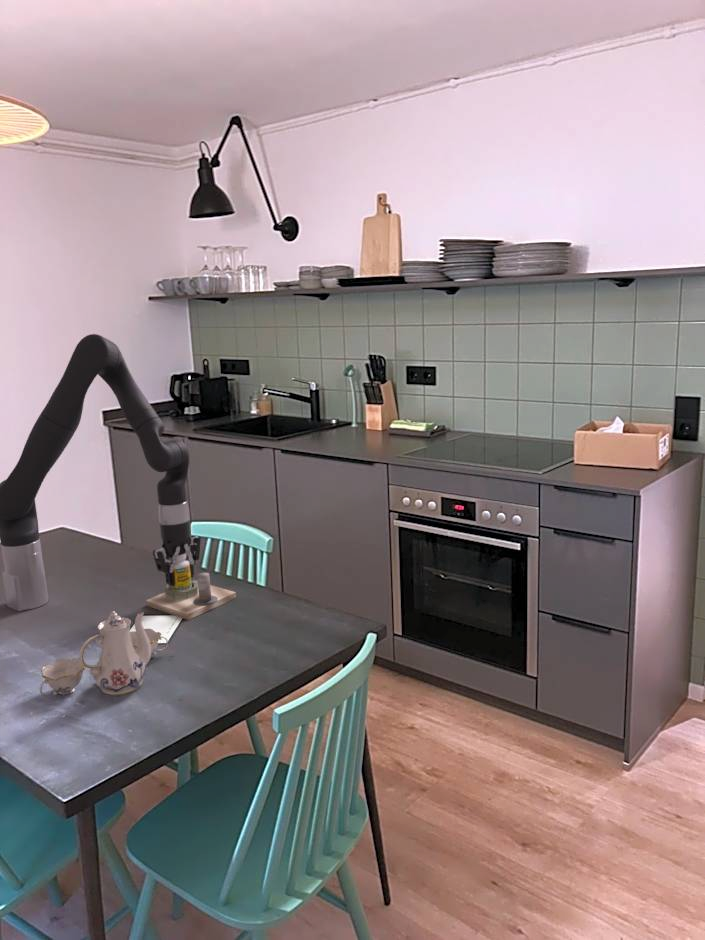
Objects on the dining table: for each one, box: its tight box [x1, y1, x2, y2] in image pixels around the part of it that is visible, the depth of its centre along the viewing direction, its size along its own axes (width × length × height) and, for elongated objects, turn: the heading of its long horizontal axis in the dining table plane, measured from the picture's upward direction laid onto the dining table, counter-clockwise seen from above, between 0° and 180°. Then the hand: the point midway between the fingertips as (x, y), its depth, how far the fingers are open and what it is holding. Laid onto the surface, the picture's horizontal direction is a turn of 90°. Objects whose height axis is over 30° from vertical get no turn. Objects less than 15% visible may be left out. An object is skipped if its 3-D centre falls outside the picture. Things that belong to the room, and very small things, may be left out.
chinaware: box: [39, 610, 169, 697], centre depth 157 cm, size 28×17×17 cm, turn 141°
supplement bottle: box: [169, 553, 192, 591], centre depth 197 cm, size 5×5×10 cm
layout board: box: [146, 572, 237, 621], centre depth 195 cm, size 16×16×8 cm
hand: (180, 581), depth 197 cm, fingers closed on supplement bottle, 5 cm apart
